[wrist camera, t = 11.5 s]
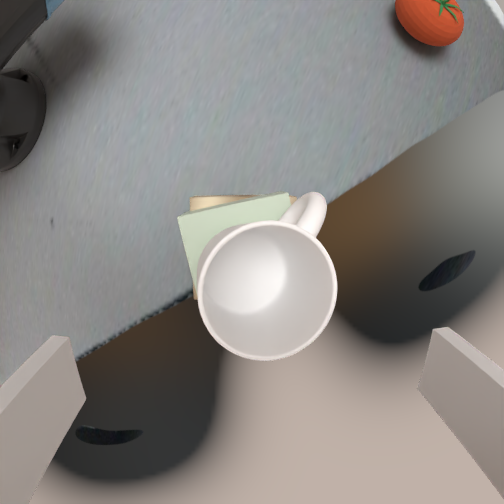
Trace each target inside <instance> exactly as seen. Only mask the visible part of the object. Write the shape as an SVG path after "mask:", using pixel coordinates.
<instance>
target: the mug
mask: <svg viewBox="0 0 504 504" xmlns="http://www.w3.org/2000/svg"><path fill="white" fill-rule="evenodd" d="M326 210H327V204H326V201H325V198H324V197H323V196H322V195H321V194H320V193H318V192H309V193H307V194H304V195H303V196H301V197H300V198H299V199H297V200H296V201H295V202H294V203H293V204H292V205H291V206H290V207H289V208H288V209H287V210H286V212H285V213H284V214H283V215H282V216H281V218H280V219H279V220H278V221H274V220H267V221H258V222H252V223H246V224H240V225H235V226H232V227H229V228H226V229H224V230H222V231H221V232H219V233H218V234H216V235H215V236H214V237H213V238H212V239H211V240H210V241H209V242H208V243H207V244H206V246H205V247H204V249H203V251H202V253H201V255H200V258H199V261H198V266H197V297H198V306H199V310H200V314H201V317H202V319H203V322H204V324H205V326H206V328H207V329H208V331H209V332H210V334H211V335H212V336H213V338H214V339H215V340H216V341H217V342H218V343H219V344H220V345H222V346H223V347H224V348H226V349H227V350H228V351H230V352H232V353H234V354H236V355H238V356H241V357H243V358H248V359H251V360H259V361H271V360H278V359H282V358H286V357H289V356H291V355H294V354H295V353H298V352H299V351H301V350H303V349H304V348H306V347H307V346H308V345H310V344H311V343H312V342H313V341H314V340H315V339H316V338H317V337H318V336H319V335H320V334H321V333H322V331H323V330H324V328H325V327H326V325H327V324H328V322H329V320H330V318H331V316H332V313H333V310H334V307H335V302H336V297H337V279H336V273H335V269H334V266H333V263H332V261H331V258H330V256H329V254H328V253H327V251H326V249H325V248H324V247H323V245H322V244H321V243H320V242H319V241H318V240H317V239H316V236H317V234H318V232H319V230H320V228H321V226H322V224H323V221H324V219H325V215H326Z"/></svg>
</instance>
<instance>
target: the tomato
mask: <svg viewBox="0 0 504 504" xmlns="http://www.w3.org/2000/svg"><path fill="white" fill-rule="evenodd" d="M395 9H396V14H397V17H398V19H399V21H400V23H401V25H402V26H403V27H404V28H405V30H406V31H407V32H408V33H409V34H410V35H411V36H413V37H414V38H415V39H417V40H418V41H420V42H422V43H425V44H428V45H432V46H446V45H449V44H451V43H453V42H455V41H456V40H457V39H458V38H459V37H460V35H461V33H462V31H463V26H464V19H463V15H462V12H463V11H462V10H461V9H460V7H459V5H458V4H457V2H456V1H455V0H396V1H395ZM461 11H462V12H461ZM463 13H464V12H463Z"/></svg>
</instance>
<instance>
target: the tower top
mask: <svg viewBox="0 0 504 504" xmlns="http://www.w3.org/2000/svg"><path fill="white" fill-rule="evenodd" d="M290 206H291V203H290V198H289V193H287V192H281V191H280V192H275V193H270V194H265V195H260V196H255V197H251V198H246V199H241V200H237V201H232V202H228V203H223V204H219V205H214V206H210V207H206V208H201V209H197V210H193V211H189V212H185V213H183V214H182V215H180V216H178V217H177V219H178V223H179V227H180V231H181V236H182V240H183V244H184V248H185V251H186V255H187V259H188V263H189V267H190V271H191V275H192V278H193V282H194V286H195V289H196V293H197V266H198V261H199V258H200V255H201V253H202V251H203V249H204V247H205V246H206V244H207V243H208V242H209V241H210V240H211V239H212V238H213V237H214V236H215V235H216V234H218V233H219V232H221V231H222V230H224V229H226V228H229V227H232V226H235V225H240V224H246V223H252V222H258V221H267V220H274V221H278V220H279V219H280V218H281V216H282V215H283V214H284V213H285V212H286V210H287V209H288V208H289V207H290Z"/></svg>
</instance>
